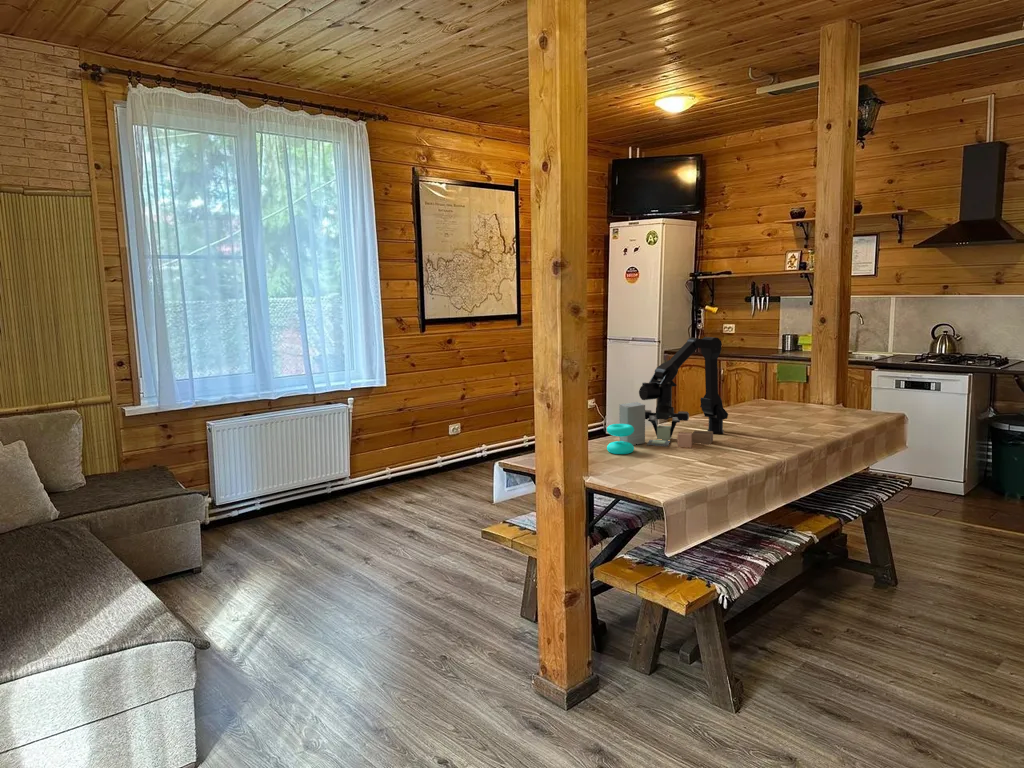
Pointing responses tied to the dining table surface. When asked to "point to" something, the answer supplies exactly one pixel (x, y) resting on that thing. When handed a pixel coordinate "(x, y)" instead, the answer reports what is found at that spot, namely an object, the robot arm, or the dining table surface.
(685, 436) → the terracotta cube
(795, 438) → the dining table surface
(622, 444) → the donuts
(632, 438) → the skincare box
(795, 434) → the dining table surface
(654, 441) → the card
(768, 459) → the dining table surface
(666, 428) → the sage cube
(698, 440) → the walnut block
